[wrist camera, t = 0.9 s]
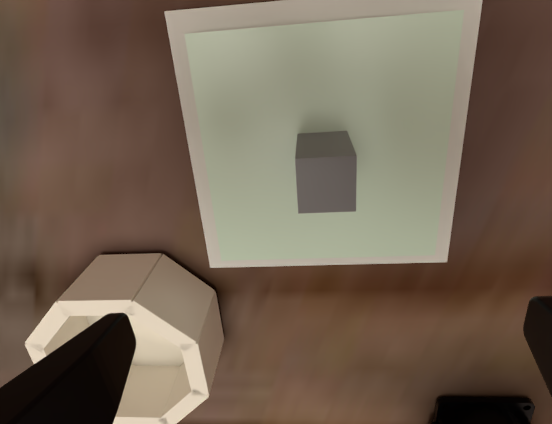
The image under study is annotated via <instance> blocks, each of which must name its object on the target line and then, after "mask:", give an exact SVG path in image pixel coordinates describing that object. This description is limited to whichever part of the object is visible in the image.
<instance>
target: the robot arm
mask: <svg viewBox="0 0 552 424" xmlns="http://www.w3.org/2000/svg"><path fill="white" fill-rule="evenodd" d="M523 331H524V336H525V338H526V341H527V343H528V345H529V347H530V350H531V352H532V354H533V356H534V359H535V361H536V363H537V365H538V368H539V370H540V372H541V374H542V376H543V379H544V381H545V383H546V385H547V388H548V390H549V392H550V394H551V396H552V296H537V297H533V298H531V300H530V301H529V304H528V309H527V313H526V317H525V321H524V326H523ZM135 349H136V337H135V334H134V331H133V329H132V326H131V323H130V320H129V318H128V316H127V314H125V313H109V314H106V315H105V316H103V317H102V318H101V319H99V320H98V321H96V322H95V323H93V324H92V325H90V326H89V327H88V328H86V329H85V330H83V331H82V332H80V333H79V334H77V335H76V336H74V337H73V338H72V339H70V340H69V341H67V342H66V343H64V344H63V345H61V346H60V347H59V348H57V349H56V350H54V351H53V352H51V353H50V354H48V355H47V356H46V357H44V358H43V359H41V360H40V361H38V362H37V363H35V364H34V365H33V366H31V367H30V368H28V369H27V370H25V371H24V372H22V373H21V374H20V375H18V376H17V377H15V378H14V379H12V380H11V381H9V382H8V383H7V384H5V385H4V386H2V387H1V388H0V424H113V422H114V419H115V416H116V414H117V411H118V408H119V405H120V402H121V398H122V395H123V391H124V388H125V384H126V381H127V377H128V374H129V370H130V367H131V363H132V360H133V357H134V353H135ZM534 409H535V406H534V404H533V402H532V401H531V399H529V398H485V397H441V398H439V399H438V400H437V402H436V408H435V414H434V421H432V422H431V424H531V423H530V421H531V418H532V415H533V412H534Z"/></svg>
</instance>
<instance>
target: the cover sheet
mask: <svg viewBox="0 0 552 424" xmlns="http://www.w3.org/2000/svg"><path fill="white" fill-rule="evenodd" d="M463 16H464V10H454V11H443V12H431V13H420V14H408V15H397V16H385V17H373V18H362V19H350V20H339V21H327V22H316V23H304V24H292V25H281V26H269V27H258V28H246V29H235V30H223V31H211V32H200V33H188V34H184V35H185V41H186V47H187V53H188V59H189V65H190V71H191V77H192V84H193V90H194V96H195V102H196V108H197V114H198V120H199V127H200V133H201V139H202V145H203V151H204V157H205V163H206V169H207V176H208V182H209V188H210V194H211V200H212V206H213V212H214V218H215V225H216V231H217V237H218V243H219V249H220V255H221V261H231V260H270V259H309V258H348V257H387V256H426V255H435V250H436V242H437V234H438V225H439V217H440V209H441V200H442V192H443V183H444V175H445V167H446V158H447V150H448V141H449V133H450V125H451V116H452V108H453V100H454V91H455V83H456V74H457V66H458V58H459V49H460V41H461V33H462V24H463Z"/></svg>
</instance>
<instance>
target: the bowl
mask: <svg viewBox="0 0 552 424" xmlns="http://www.w3.org/2000/svg"><path fill="white" fill-rule="evenodd" d="M214 291H215V290H214V289H212V288H211V287H209V286H208V285H207V284H205V283H204V282H202V281H201V280H200V279H198V278H197V277H195V276H194V275H193V274H191V273H190V272H188V271H187V270H185V269H184V268H183V267H181V266H180V265H178V264H177V263H176V262H174V261H173V260H171V259H170V258H168V257H167V256H166V255H164V254H163V255H162V254H161V253H149V254H113V255H99V256H97V257H96V258H95V260H94V261H93V262H92V263H91V264H90V265H89V266H88V267H87V268H86V269H85V270H84V271H83V273H82V274H81V275H80V276H79V277H78V278H77V279H76V280H75V281H74V282H73V283H72V285H71V286H70V287H69V288H68V289H67V290H66V291H65V292H64V293H63V294H62V295H61V297H60V298H59V299H58V300H57V301H56V302H55V303H54V305H53V306H52V307H51V309H50V310H49V311H48V313H47V314H46V315H45V317H44V318H43V319H42V321H41V322H40V323H39V325H38V326H37V327H36V329H35V330H34V331H33V333H32V334H31V335H30V337H29V338H28V339H27V341H26V342H25V343H26V344H25V346H26V348H27V350H28V352H29V355H30V357H31V359H32V361H33V363H34V364H35V363H37V362H38V361H40V360H41V359H43V358H44V357H46V356H47V355H48V354H50V353H51V352H53V351H54V350H56V349H57V348H59V347H60V346H61V345H63V344H64V343H66V342H67V341H69V340H70V339H72V338H73V337H74V336H76V335H77V334H79V333H80V332H82V331H83V330H85V329H86V328H88V327H89V326H90V325H92V324H93V323H95V322H96V321H98V320H99V319H101V318H102V317H103V316H105V315H106V314H109V313H125V314H127V316H128V318H129V320H130V323H131V326H132V329H133V331H134V334H135V337H136V349H135V353H134V357H133V360H132V363H131V367H130V370H129V374H128V377H127V381H126V384H125V388H124V391H123V395H122V398H121V402H120V405H119V408H118V411H117V414H116V416H115V419H114V422H113V424H177V423H178V422H179V421H180V420H181V419H183V418H184V417H185V416H186V415H188V414H189V413H190V412H191V411H192V410H194V409H195V408H196V407H197V406H198V405H200V404H201V403H202V402H203V401H204V400H206V399H207V398H208V397H209V394H210V390H211V387H212V383H213V379H214V375H215V372H216V368H217V364H218V360H219V357H220V353H221V349H222V345H223V342H224V335H223V329H222V324H221V318H220V312H219V307H218V301H217V296H216V292H214Z"/></svg>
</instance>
